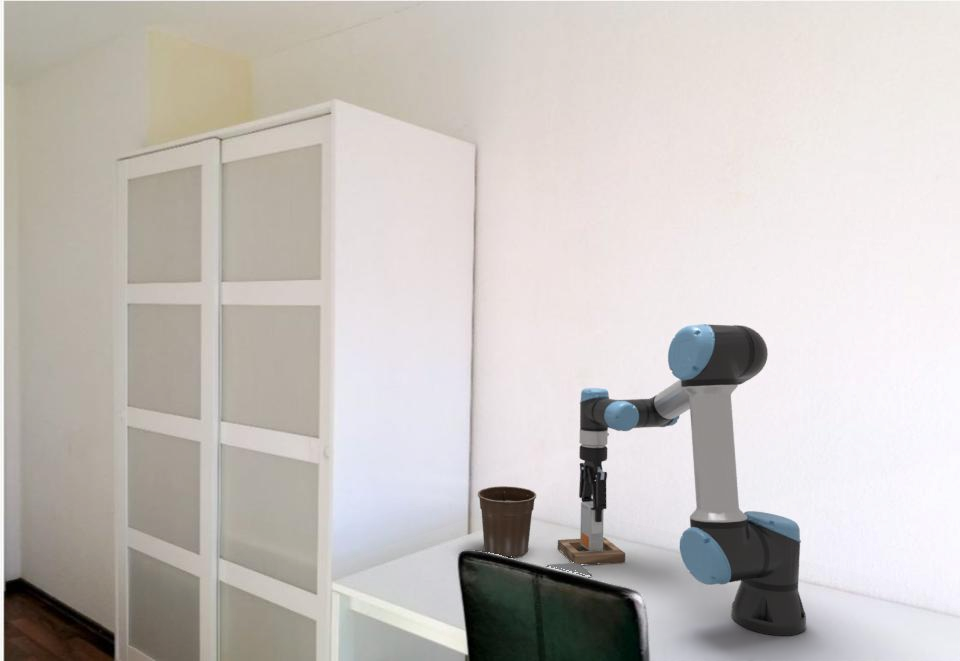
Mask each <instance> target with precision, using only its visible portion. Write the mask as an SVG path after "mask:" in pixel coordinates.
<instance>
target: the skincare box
mask: <svg viewBox="0 0 960 661" xmlns="http://www.w3.org/2000/svg"><path fill="white" fill-rule="evenodd" d="M591 508H593V501H590V502H582V501H581V502H580V536H579V539H580V545H582V546H583V547H585V548H586V549H588V550H589V551H588V552H591V551H603V537H604V511H605V509H603V510H602V533H600V534H592V533H591V528H592V510H591Z"/></svg>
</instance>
